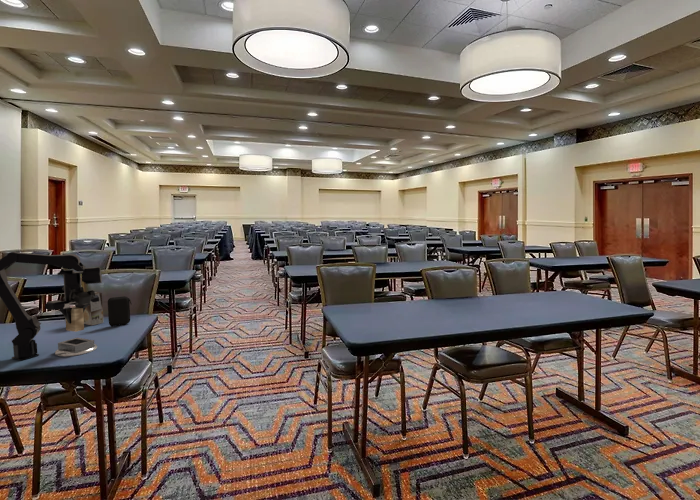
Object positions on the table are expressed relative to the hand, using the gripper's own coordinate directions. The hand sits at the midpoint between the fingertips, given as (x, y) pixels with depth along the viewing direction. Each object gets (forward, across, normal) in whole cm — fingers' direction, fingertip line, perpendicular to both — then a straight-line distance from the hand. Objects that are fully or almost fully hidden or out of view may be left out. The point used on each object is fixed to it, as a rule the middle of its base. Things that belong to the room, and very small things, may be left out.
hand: (74, 322), depth 168 cm
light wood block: (+3, 0, 0) cm, 3 cm away
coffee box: (+12, +32, +36) cm, 50 cm away
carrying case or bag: (+12, +35, +19) cm, 42 cm away
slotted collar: (+12, 0, 0) cm, 12 cm away
